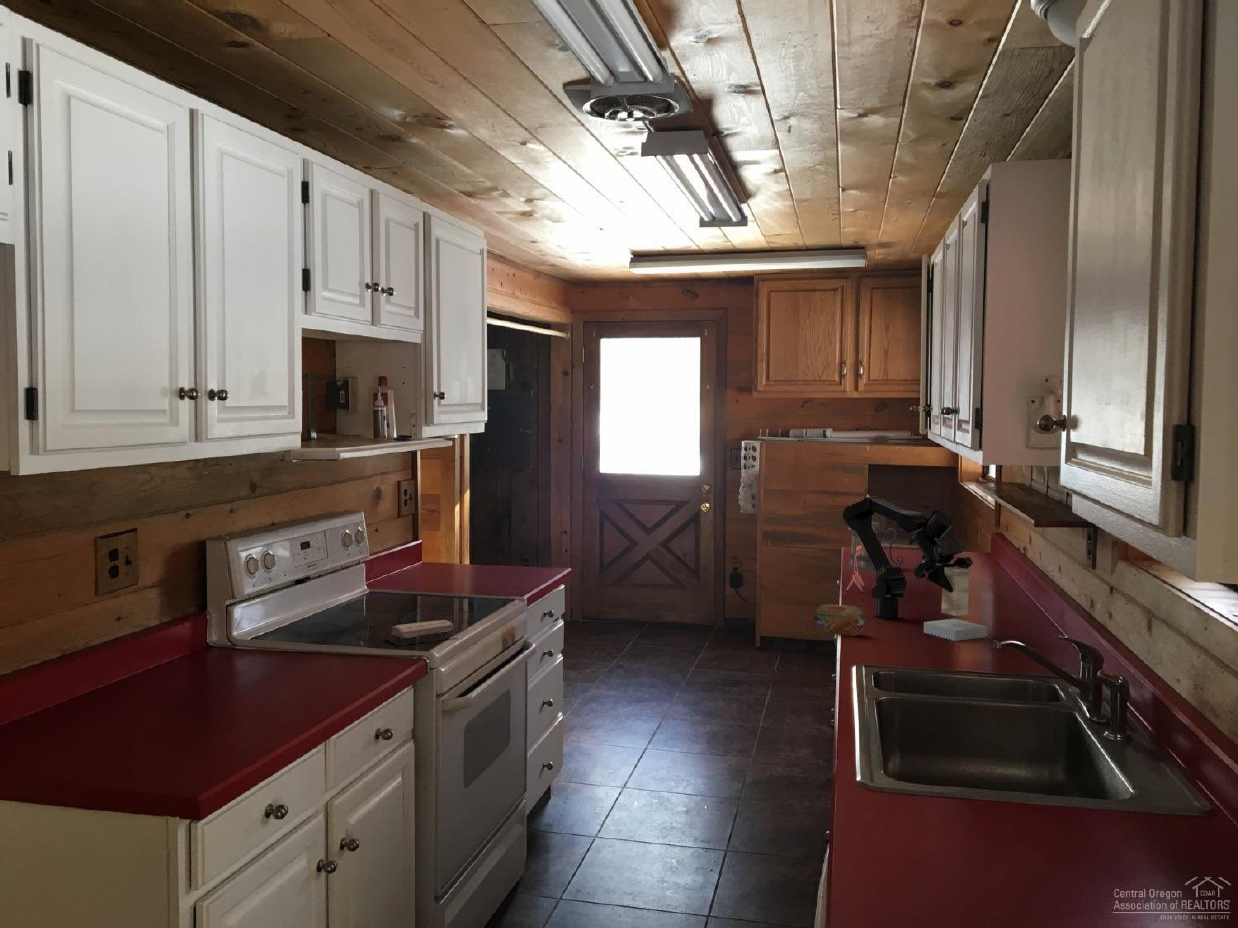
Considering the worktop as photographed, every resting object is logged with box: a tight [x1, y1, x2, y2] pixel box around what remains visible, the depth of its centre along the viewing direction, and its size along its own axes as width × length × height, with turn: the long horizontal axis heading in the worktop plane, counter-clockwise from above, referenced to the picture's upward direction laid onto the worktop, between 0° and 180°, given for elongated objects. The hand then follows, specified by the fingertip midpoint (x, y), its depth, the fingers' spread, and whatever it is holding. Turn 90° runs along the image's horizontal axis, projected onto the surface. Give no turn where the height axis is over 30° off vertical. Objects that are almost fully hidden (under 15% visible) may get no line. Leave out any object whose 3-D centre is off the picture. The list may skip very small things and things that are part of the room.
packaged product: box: [390, 619, 456, 638], centre depth 264 cm, size 18×5×10 cm
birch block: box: [941, 567, 971, 617], centre depth 271 cm, size 5×5×13 cm
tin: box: [813, 604, 868, 637], centre depth 273 cm, size 15×3×8 cm, turn 62°
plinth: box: [923, 618, 988, 642], centre depth 272 cm, size 12×12×3 cm
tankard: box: [846, 520, 905, 571], centre depth 392 cm, size 24×17×20 cm
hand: (959, 591), depth 270 cm, fingers closed on birch block, 5 cm apart
